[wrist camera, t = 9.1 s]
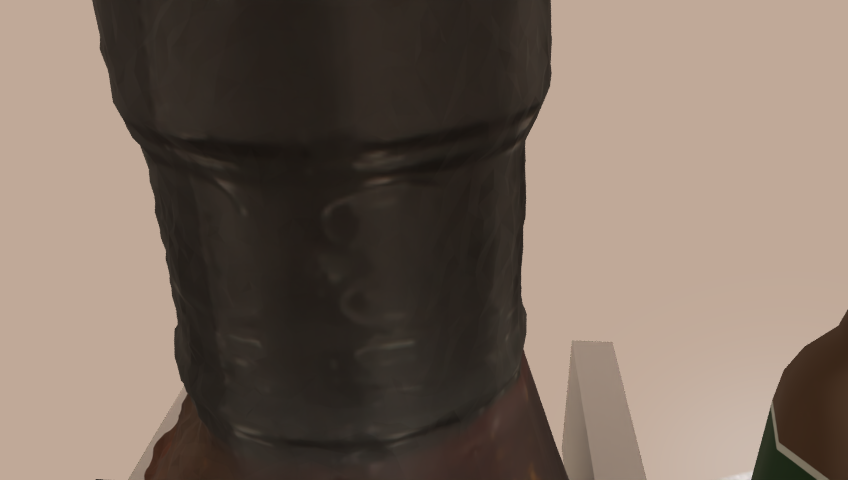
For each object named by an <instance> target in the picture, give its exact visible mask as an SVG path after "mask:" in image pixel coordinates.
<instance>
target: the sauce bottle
mask: <svg viewBox="0 0 848 480" xmlns="http://www.w3.org/2000/svg"><path fill="white" fill-rule="evenodd" d="M92 1H93V6H94V11H95V15H96V20H97V24H98V29H99V33H100V51H101V53H102V56H103V59H104V61H105V63H106V66H107V68H108V72H109V78H110V85H111V92H112V98H113V103H114V104H115V106H116V108H117V110H118V111H119V113H120V115H121V116H122V118H123V120H124V122H125V124H126V127H127V129H128V130H129V132H130V134H131V136H132V138H133V139H134V140H135V141H136V142H137V143H138V144H140V146H141V149H142V152H143V154H144V157H145V160H146V163H147V165H148V168H149V176H150V183H151V186H152V190H153V193H154V196H155V214H156V217H157V221H158V224H159V227H160V234H161V239H162V242H163V244H164V247H165V249H166V261H167V265H168V269H169V274H170V284H171V288H172V297H173V300H174V304H175V307H176V311H177V319H178V325H177V327H176V328H175V337H174V345H175V359H176V363H177V366H178V370H179V374H180V378H181V381H182V382H183V383H184V386H185V389H186V392H187V395H186V397H185V399H184V401H183V403H182V407H181V412H180V414H179V415H178V416H179V419H178V421H177V423H176V425H175V426H174V427H173V428H172V429H171V430H170V431H168V432H166V433H164V435H163V436H162V437H161V438H160V439H159V440H158V441H157V442H156V444H155V446H154V448H153V457H152V460H151V462H150V465H149V467H148V468H147V469H146V471H145V474H144V479H145V480H569V478H568V475H567V473H566V470H565V467H564V465H563V462H562V460H561V457H560V455H559V452H558V450H557V447H556V444H555V442H554V439H553V435H552V432H551V430H550V427H549V424H548V421H547V418H546V415H545V412H544V409H543V406H542V403H541V401H540V397H539V394H538V391H537V388H536V385H535V383H534V380H533V377H532V374H531V371H530V368H529V365H528V362H527V359H526V356H525V354H524V350H523V347H524V342H525V337H526V315H527V314H526V311H525V308H524V306H523V304H522V298H521V265H522V253H523V225H524V220H525V211H526V207H525V206H526V182H525V161H526V160H525V140H526V138H527V136H528V134H529V132H530V130H531V128H532V126H533V124H534V122H535V120H536V118H537V116H538V113H539V111H540V109H541V106H542V104H543V101H544V99H545V96H546V94H547V92H548V89H549V87H550V81H551V65H550V63H551V62H550V61H551V44H552V36H551V3H550V2H551V0H92Z"/></svg>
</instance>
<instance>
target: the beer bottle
mask: <svg viewBox="0 0 848 480" xmlns="http://www.w3.org/2000/svg"><path fill="white" fill-rule="evenodd" d="M751 480H848V310H847V312H846V314H845V315H844V317H843V319H842V321H841V322H840V324H839V326H837V327H836V328H834V329H832V330H831V331H829V332H828V333H826V334H824V335H823V336H821V337H820V338H818V339H816V340H815V341H813V342H811V343H810V344H808V345H806V346H805V347H804V348H803V349H802V350H801V351H800V352H799V354H798V355H797V356H796V357H795V358H794V359H793V360H792V361H791V363H790V364H789V365H788V366H787V368H785V369H784V372H783V374H782V376H781V379H780V382H779V384H778V387H777V389H776V392H775V395H774V397H773V400H772V404H771V408H770V411H769V415H768V419H767V423H766V426H765V430H764V434H763V437H762V441H761V445H760V449H759V452H758V456H757V460H756V464H755V468H754V471H753V475H752V479H751Z"/></svg>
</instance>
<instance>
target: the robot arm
mask: <svg viewBox="0 0 848 480" xmlns="http://www.w3.org/2000/svg"><path fill="white" fill-rule="evenodd" d="M186 395H187V392H186V389H185V386H184V387H183V389H182V390H181V392H180V394H179V395H178V397H177V399H176V400H175V402H174V404H173V406H172V407H171V409H170V410H169V412H168V414H167V415H166V417H165V419H164V420H163V422H162V424H161V426H160V427H159V429H158V431H157V432H156V434H155V436H154V437H153V439H152V441H151V442H150V444H149V446H148V447H147V449H146V451H145V452H144V454H143V456H142V457H141V459H140V461H139V462H138V464H137V466H136V467H135V469H134V471H133V472H132V474H131V476H130V478H129V480H145V479H144V474H145V471H146V469H147V468H148V467H149V465H150V462H151V460H152V457H153V448H154V446H155V444H156V442H157V441H158V440H159V439H160V438H161V437H162V436H163V435H164V433H166V432H168V431H170V430H171V429H172V428H173V427H174V426H175V425H176V423H177V421H178V419H179V416H178V415H179V414H180V412H181V407H182V403H183V401H184V399H185V397H186ZM562 452H563V461H564V467H565V470H566V473H567V475H568V478H569V480H646V476H645V472H644V468H643V465H642V461H641V456H640V452H639V449H638V444H637V440H636V436H635V432H634V428H633V424H632V420H631V416H630V412H629V408H628V404H627V400H626V396H625V391H624V388H623V383H622V380H621V376H620V371H619V367H618V363H617V359H616V355H615V351H614V347H613V343H612V342H593V341H572V346H571V357H570V368H569V380H568V390H567V400H566V411H565V422H564V434H563V444H562ZM96 480H101V479H96Z"/></svg>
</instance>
